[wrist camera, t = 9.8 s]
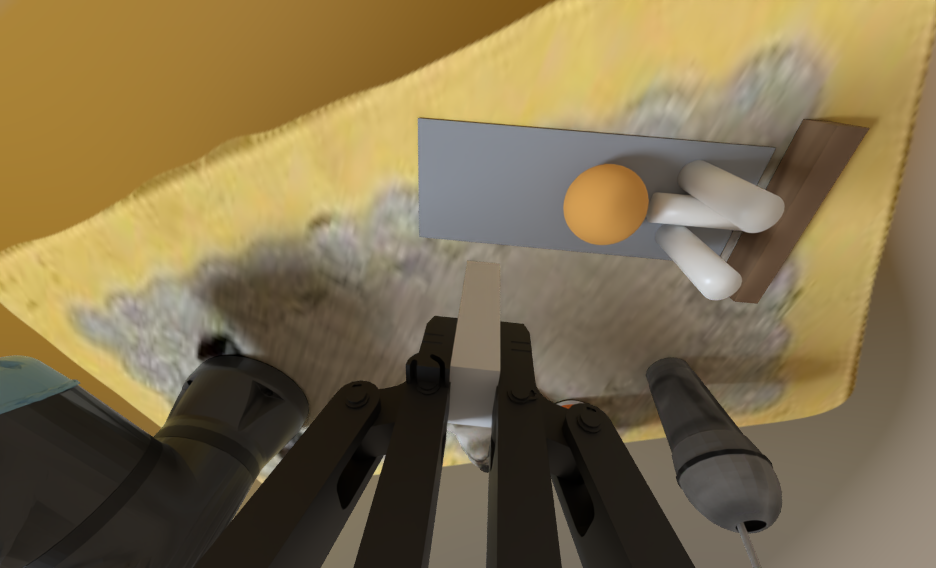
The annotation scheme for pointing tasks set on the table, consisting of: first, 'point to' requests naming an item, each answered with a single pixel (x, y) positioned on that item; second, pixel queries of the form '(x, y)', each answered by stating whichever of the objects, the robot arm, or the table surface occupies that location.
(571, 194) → the ball
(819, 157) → the back wall
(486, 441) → the ceramic sculpture
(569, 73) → the table surface
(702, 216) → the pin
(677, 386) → the beverage cup
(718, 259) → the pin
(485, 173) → the lane mat
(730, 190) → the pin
